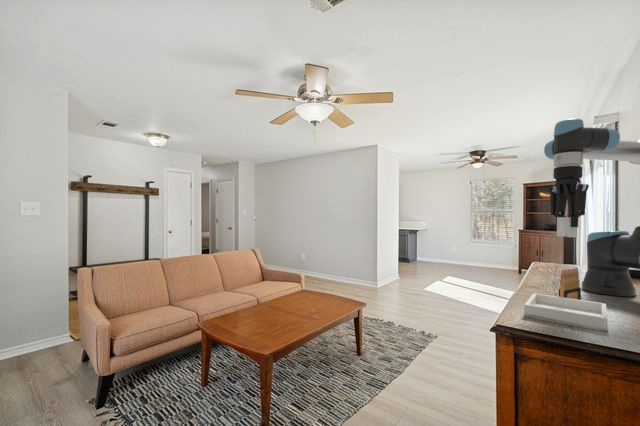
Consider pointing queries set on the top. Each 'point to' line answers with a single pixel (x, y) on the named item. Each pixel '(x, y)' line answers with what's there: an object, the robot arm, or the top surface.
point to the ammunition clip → (570, 284)
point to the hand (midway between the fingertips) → (566, 236)
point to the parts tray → (567, 311)
